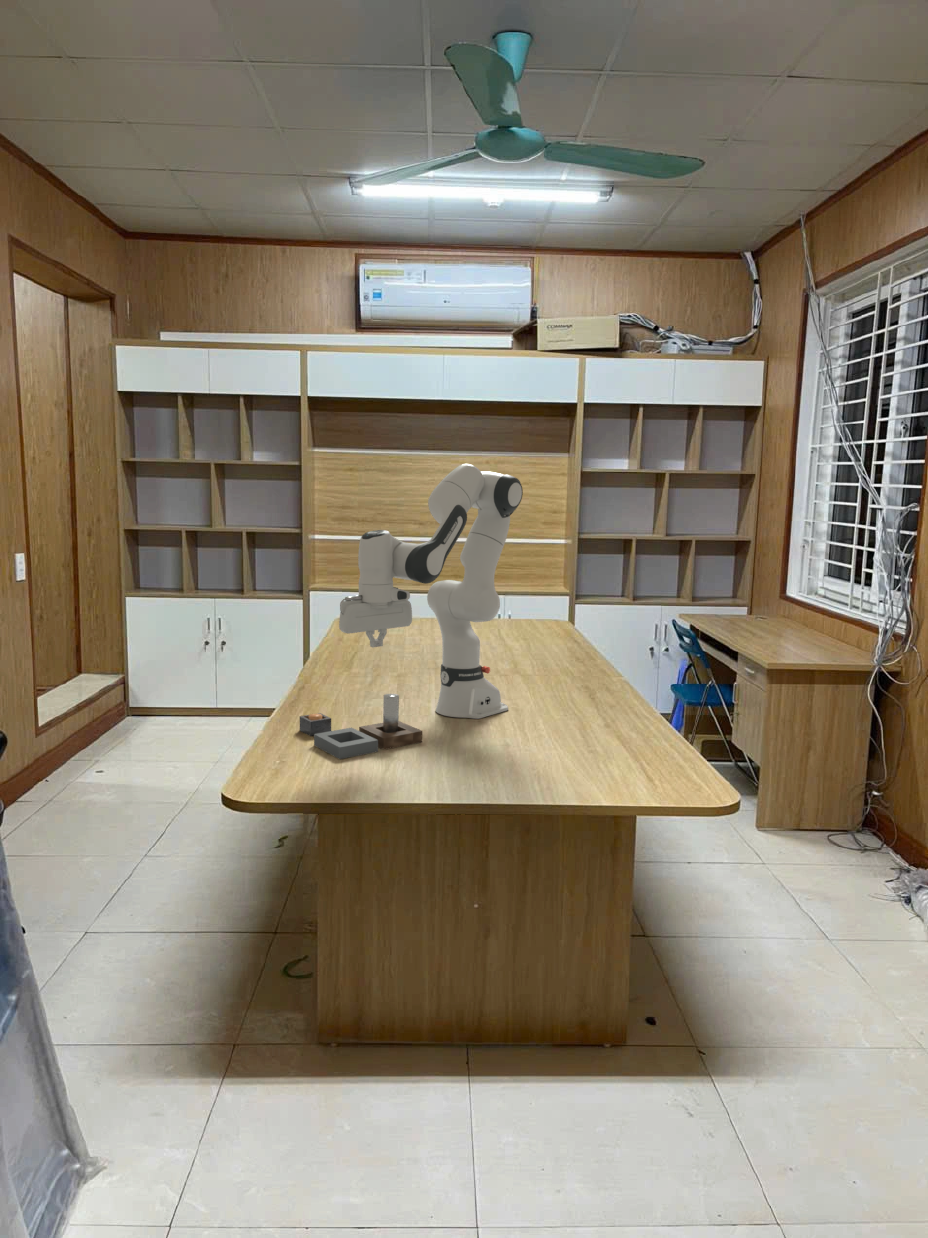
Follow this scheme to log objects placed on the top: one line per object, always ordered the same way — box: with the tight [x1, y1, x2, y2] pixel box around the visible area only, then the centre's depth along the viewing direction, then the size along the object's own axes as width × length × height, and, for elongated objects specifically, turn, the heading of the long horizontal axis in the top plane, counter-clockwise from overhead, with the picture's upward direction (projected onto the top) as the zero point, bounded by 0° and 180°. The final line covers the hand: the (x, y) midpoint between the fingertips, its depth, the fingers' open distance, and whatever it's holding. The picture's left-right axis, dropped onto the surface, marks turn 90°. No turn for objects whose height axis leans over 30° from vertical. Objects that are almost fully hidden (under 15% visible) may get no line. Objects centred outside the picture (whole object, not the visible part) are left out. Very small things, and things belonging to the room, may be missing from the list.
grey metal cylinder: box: [382, 693, 400, 733], centre depth 222 cm, size 4×4×12 cm
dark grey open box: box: [299, 712, 332, 737], centre depth 228 cm, size 6×6×4 cm
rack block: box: [313, 727, 379, 760], centre depth 214 cm, size 11×13×3 cm
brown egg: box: [308, 713, 322, 720], centre depth 227 cm, size 4×4×4 cm
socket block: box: [358, 720, 424, 750], centre depth 222 cm, size 12×12×3 cm
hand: (376, 646), depth 220 cm, fingers closed
